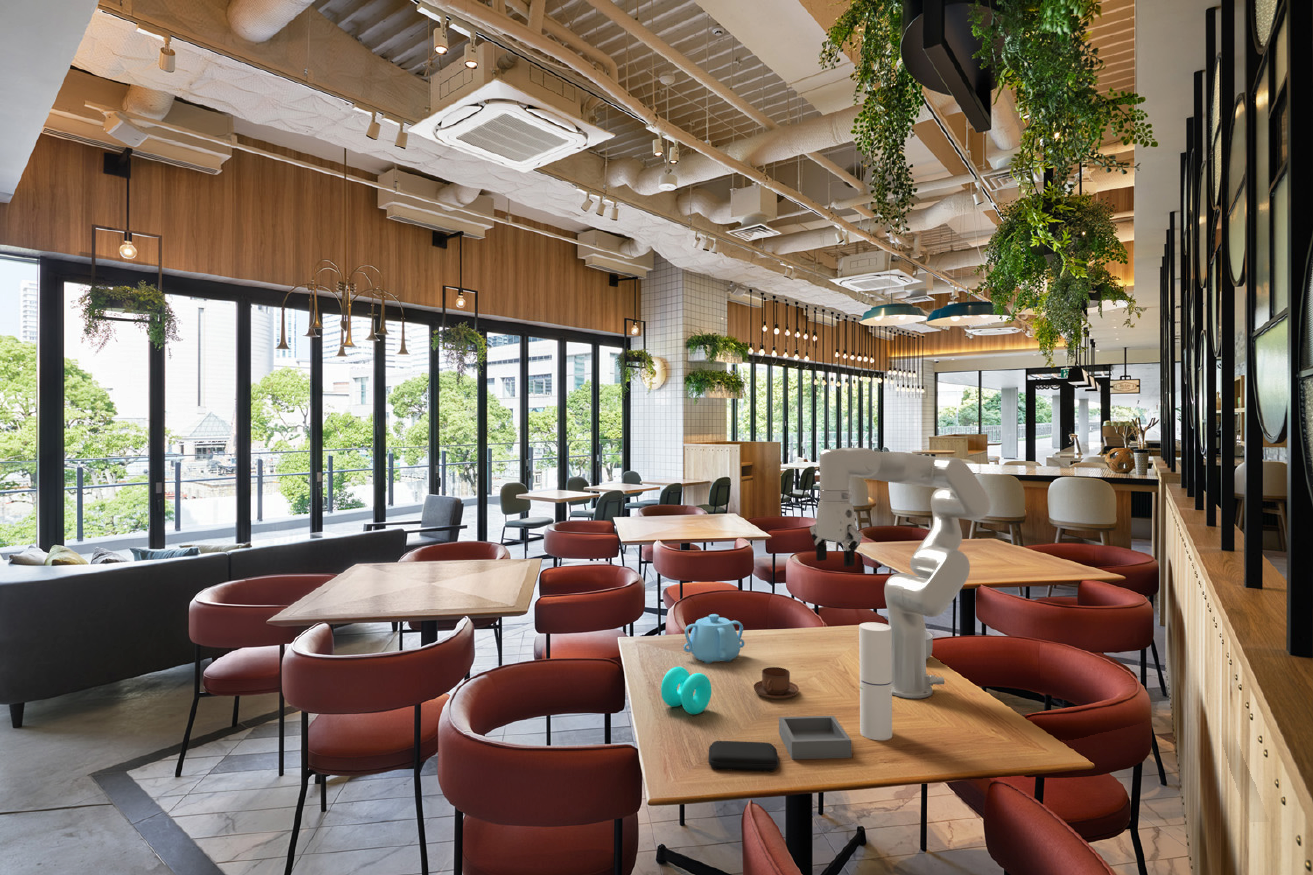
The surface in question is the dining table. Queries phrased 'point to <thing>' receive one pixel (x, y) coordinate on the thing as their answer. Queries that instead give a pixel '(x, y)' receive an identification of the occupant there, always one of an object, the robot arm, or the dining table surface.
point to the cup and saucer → (776, 684)
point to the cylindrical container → (875, 681)
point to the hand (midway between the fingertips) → (835, 563)
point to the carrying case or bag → (743, 756)
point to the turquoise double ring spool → (686, 690)
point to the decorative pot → (714, 639)
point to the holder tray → (814, 737)
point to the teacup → (929, 644)
